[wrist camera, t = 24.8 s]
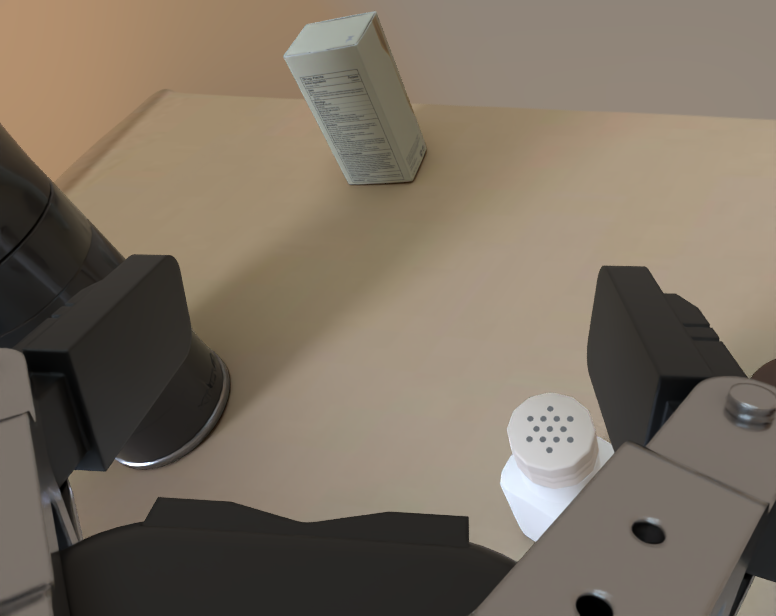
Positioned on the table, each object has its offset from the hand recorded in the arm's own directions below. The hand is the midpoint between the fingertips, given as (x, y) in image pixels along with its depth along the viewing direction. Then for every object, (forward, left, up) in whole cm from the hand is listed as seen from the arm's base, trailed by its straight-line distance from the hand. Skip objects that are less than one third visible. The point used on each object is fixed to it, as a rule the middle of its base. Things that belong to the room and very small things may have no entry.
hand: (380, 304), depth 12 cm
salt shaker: (+2, +4, -22) cm, 23 cm away
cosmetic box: (-7, +35, -22) cm, 42 cm away
